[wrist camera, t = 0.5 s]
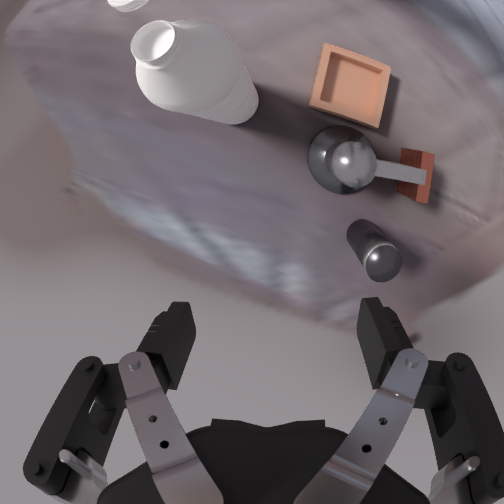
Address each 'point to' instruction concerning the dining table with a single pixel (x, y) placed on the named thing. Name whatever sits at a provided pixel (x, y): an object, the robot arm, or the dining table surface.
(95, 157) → the dining table surface
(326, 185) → the base
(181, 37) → the water bottle
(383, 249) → the peg
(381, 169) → the crank
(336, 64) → the tray
